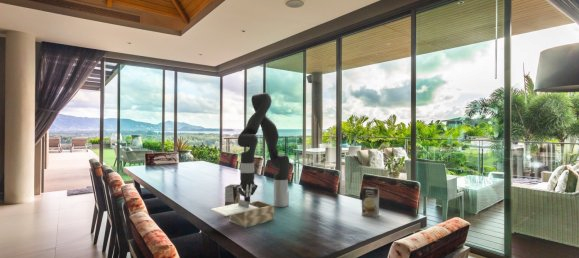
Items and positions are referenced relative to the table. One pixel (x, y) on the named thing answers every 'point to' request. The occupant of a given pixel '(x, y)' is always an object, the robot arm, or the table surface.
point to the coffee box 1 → (231, 195)
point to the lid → (234, 208)
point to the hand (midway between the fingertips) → (247, 203)
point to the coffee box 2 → (370, 201)
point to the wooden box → (254, 215)
